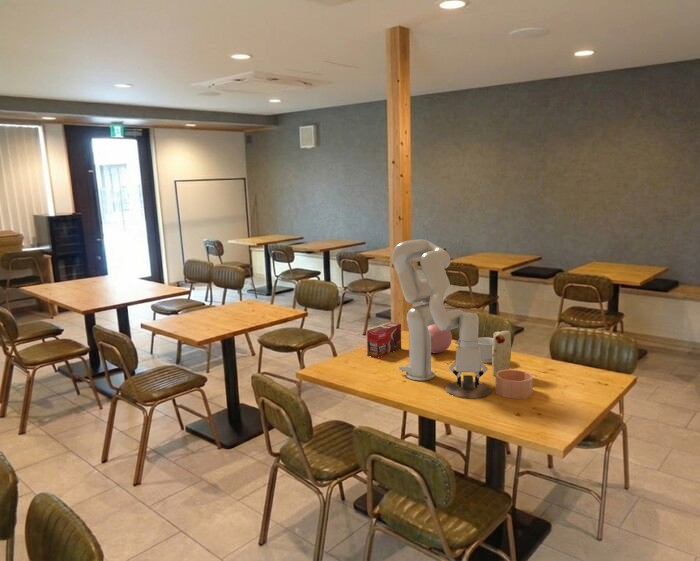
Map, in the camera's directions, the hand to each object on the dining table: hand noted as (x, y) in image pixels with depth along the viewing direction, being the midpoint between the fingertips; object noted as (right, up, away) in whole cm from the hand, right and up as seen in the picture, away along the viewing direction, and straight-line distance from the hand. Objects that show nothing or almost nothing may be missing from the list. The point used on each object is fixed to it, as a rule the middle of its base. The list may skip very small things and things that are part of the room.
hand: (467, 385), depth 222 cm
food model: (+18, +1, +17) cm, 25 cm away
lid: (0, -2, 0) cm, 2 cm away
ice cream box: (-31, +6, +54) cm, 62 cm away
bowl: (+18, -2, -3) cm, 18 cm away
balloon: (-7, +6, +50) cm, 51 cm away
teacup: (+16, +5, +38) cm, 41 cm away
